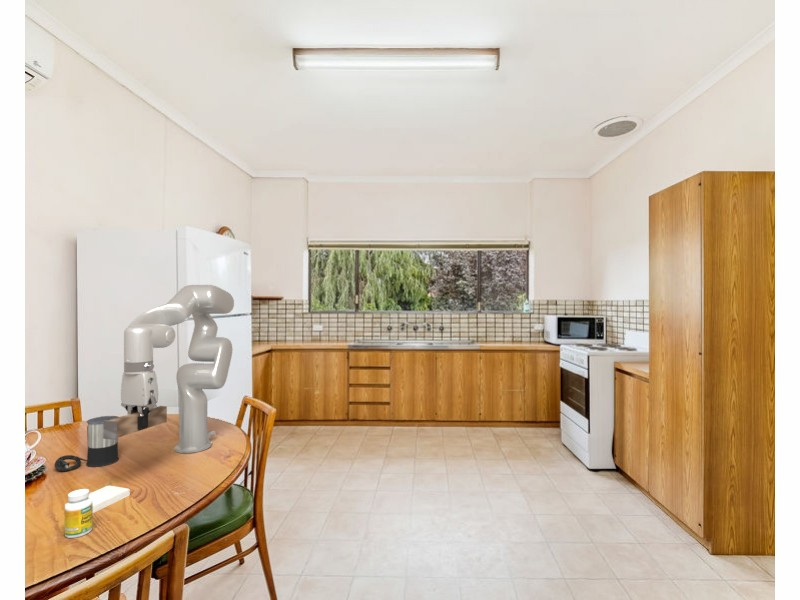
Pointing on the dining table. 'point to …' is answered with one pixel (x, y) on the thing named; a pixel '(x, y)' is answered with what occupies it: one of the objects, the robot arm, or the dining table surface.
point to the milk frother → (94, 447)
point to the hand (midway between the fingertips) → (138, 427)
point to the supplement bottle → (78, 514)
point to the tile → (107, 496)
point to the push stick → (132, 423)
